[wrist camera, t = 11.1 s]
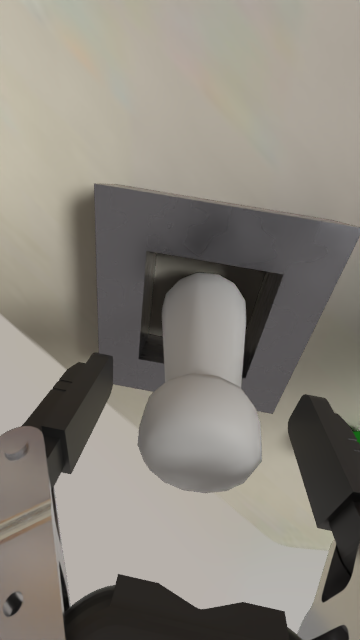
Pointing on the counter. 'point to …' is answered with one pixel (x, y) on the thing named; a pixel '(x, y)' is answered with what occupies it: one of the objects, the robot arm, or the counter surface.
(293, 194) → the counter surface
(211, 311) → the salt shaker
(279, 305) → the collar
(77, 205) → the counter surface
